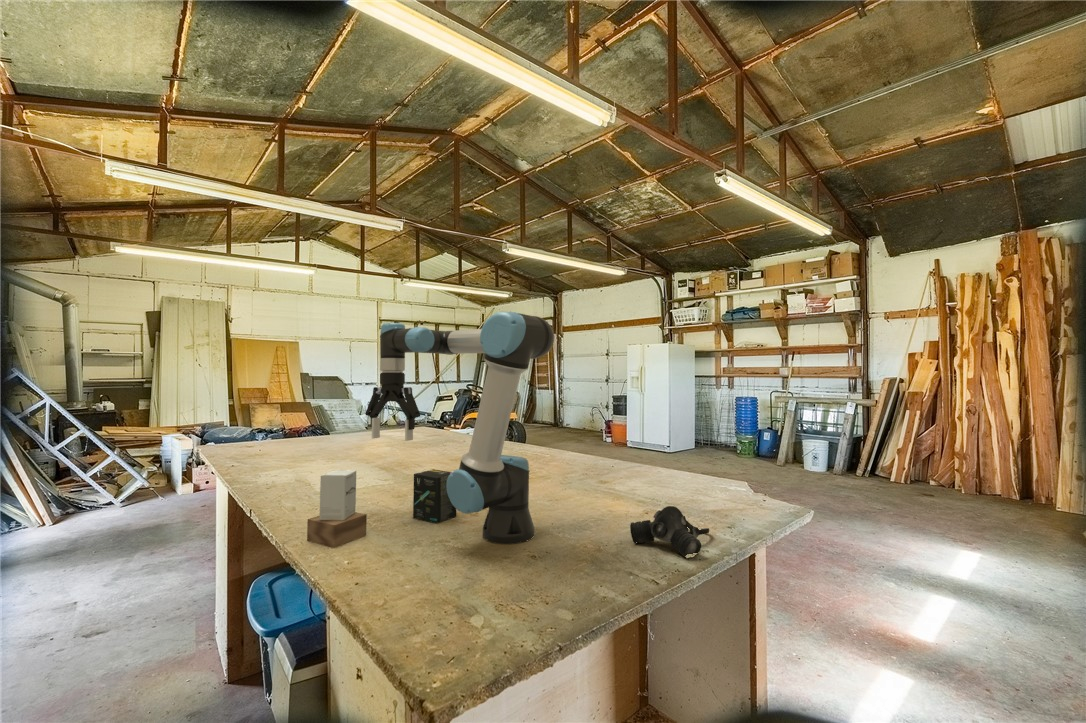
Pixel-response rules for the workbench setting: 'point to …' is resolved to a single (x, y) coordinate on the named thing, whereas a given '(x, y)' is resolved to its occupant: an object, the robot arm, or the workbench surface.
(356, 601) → the workbench surface
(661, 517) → the respirator mask
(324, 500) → the supplement box
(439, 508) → the tampon box
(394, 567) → the workbench surface
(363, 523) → the walnut block
